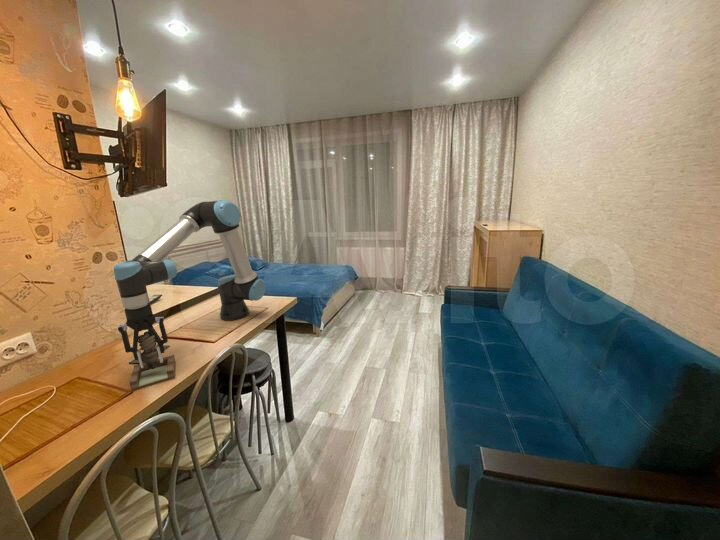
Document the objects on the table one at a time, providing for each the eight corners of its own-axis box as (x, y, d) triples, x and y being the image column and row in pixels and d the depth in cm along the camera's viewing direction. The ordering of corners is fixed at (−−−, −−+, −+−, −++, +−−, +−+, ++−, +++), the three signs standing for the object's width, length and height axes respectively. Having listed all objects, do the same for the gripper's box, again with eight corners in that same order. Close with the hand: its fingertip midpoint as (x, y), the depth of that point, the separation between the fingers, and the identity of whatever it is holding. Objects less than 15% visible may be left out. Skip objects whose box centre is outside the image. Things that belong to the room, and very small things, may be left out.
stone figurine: (161, 363, 113) (153, 327, 109) (164, 368, 109) (156, 331, 105) (143, 369, 109) (134, 332, 105) (146, 375, 105) (137, 337, 101)
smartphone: (170, 345, 132) (142, 363, 118) (171, 347, 132) (143, 365, 118) (157, 345, 133) (127, 362, 119) (157, 346, 133) (128, 364, 119)
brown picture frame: (175, 378, 107) (173, 369, 106) (131, 391, 101) (129, 382, 100) (175, 362, 118) (173, 354, 117) (136, 373, 112) (134, 365, 111)
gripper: (167, 297, 110) (180, 351, 116) (106, 308, 101) (123, 367, 107) (167, 302, 104) (180, 360, 110) (101, 315, 95) (119, 377, 101)
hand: (152, 363), depth 108 cm, fingers closed on stone figurine, 5 cm apart
